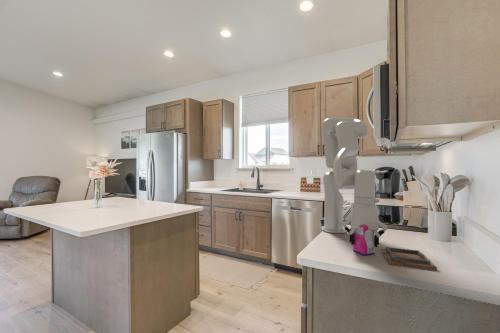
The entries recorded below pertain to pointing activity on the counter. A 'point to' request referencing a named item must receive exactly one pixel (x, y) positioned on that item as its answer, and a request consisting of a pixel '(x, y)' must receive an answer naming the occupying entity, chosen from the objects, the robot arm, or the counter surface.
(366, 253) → the supplement box
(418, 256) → the base board
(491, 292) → the counter surface
